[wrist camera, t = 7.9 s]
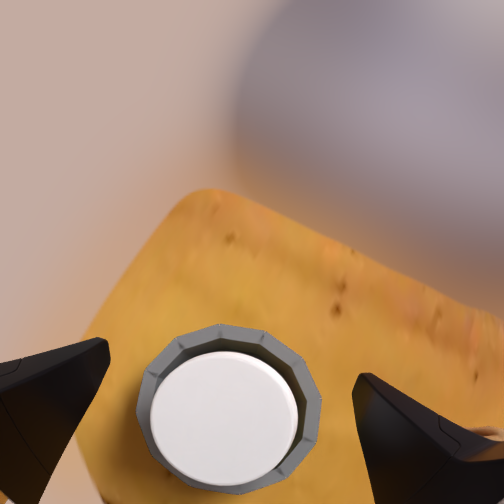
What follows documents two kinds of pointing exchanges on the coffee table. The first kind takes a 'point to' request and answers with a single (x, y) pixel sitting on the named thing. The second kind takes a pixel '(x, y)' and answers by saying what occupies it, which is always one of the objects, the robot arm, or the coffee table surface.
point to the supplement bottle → (223, 418)
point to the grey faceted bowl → (254, 346)
